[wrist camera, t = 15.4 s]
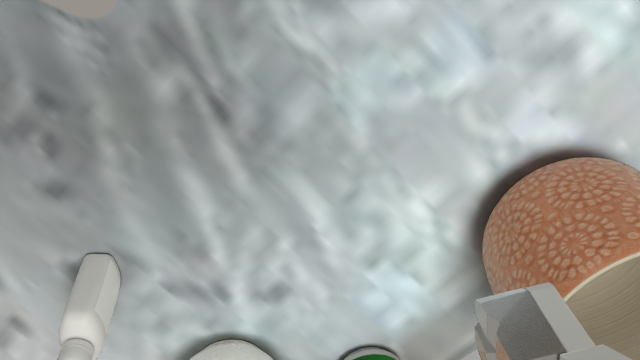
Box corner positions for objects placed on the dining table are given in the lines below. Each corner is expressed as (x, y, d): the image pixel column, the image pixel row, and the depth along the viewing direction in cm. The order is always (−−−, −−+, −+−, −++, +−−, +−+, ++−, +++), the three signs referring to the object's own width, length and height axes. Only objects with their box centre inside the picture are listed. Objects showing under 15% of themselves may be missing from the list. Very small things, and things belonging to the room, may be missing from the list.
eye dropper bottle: (137, 263, 51) (111, 371, 41) (111, 303, 53) (79, 415, 43) (91, 244, 50) (52, 352, 39) (65, 286, 52) (22, 398, 42)
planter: (638, 249, 57) (751, 370, 45) (477, 299, 59) (542, 431, 46) (638, 106, 48) (780, 207, 35) (447, 169, 50) (518, 289, 37)
